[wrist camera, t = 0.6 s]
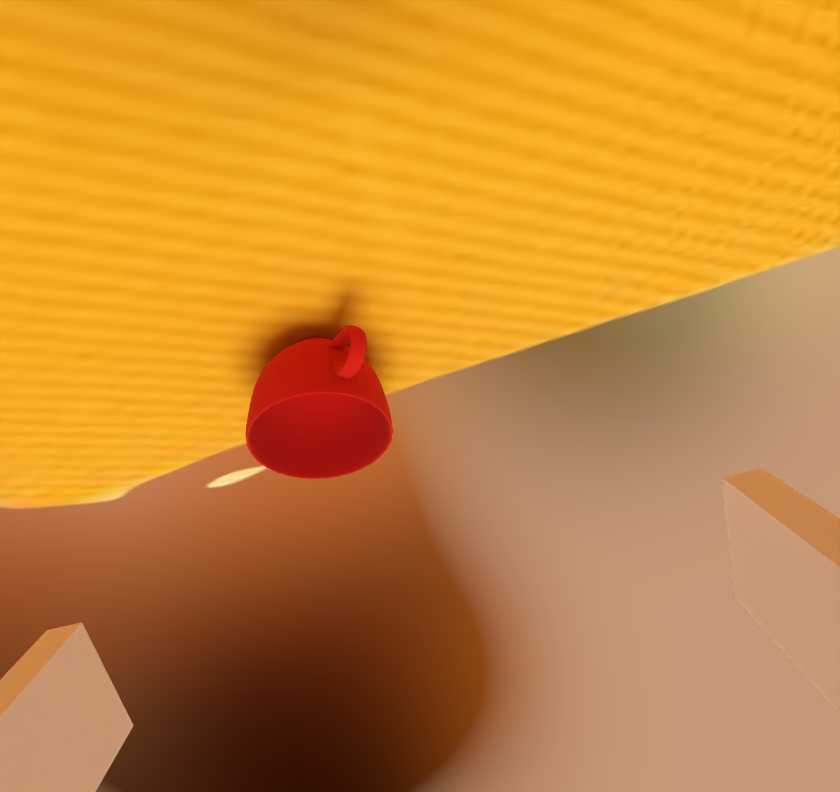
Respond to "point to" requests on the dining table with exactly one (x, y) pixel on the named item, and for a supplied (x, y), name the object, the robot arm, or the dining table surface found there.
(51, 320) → the dining table surface
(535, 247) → the dining table surface
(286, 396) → the ceramic cup
